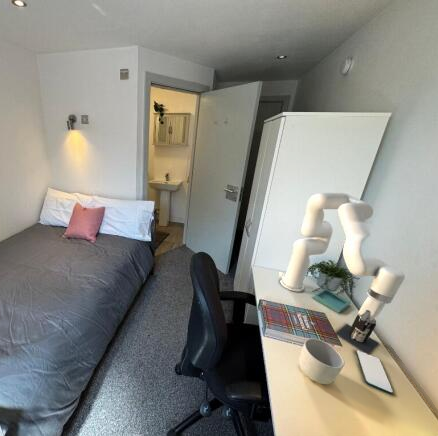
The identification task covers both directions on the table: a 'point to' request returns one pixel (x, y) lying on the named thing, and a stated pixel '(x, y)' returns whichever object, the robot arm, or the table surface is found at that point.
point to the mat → (363, 347)
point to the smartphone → (373, 371)
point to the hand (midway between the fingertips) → (363, 326)
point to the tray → (332, 300)
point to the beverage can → (360, 335)
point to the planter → (320, 361)
